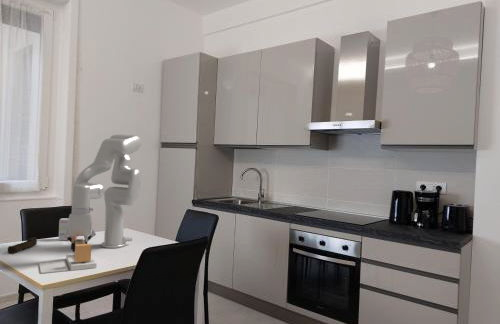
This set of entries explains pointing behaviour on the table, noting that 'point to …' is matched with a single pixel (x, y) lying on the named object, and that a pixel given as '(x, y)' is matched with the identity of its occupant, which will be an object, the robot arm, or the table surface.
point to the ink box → (63, 229)
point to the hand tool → (22, 245)
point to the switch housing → (80, 263)
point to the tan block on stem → (79, 242)
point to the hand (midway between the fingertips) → (79, 250)
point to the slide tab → (82, 253)
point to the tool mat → (53, 266)
